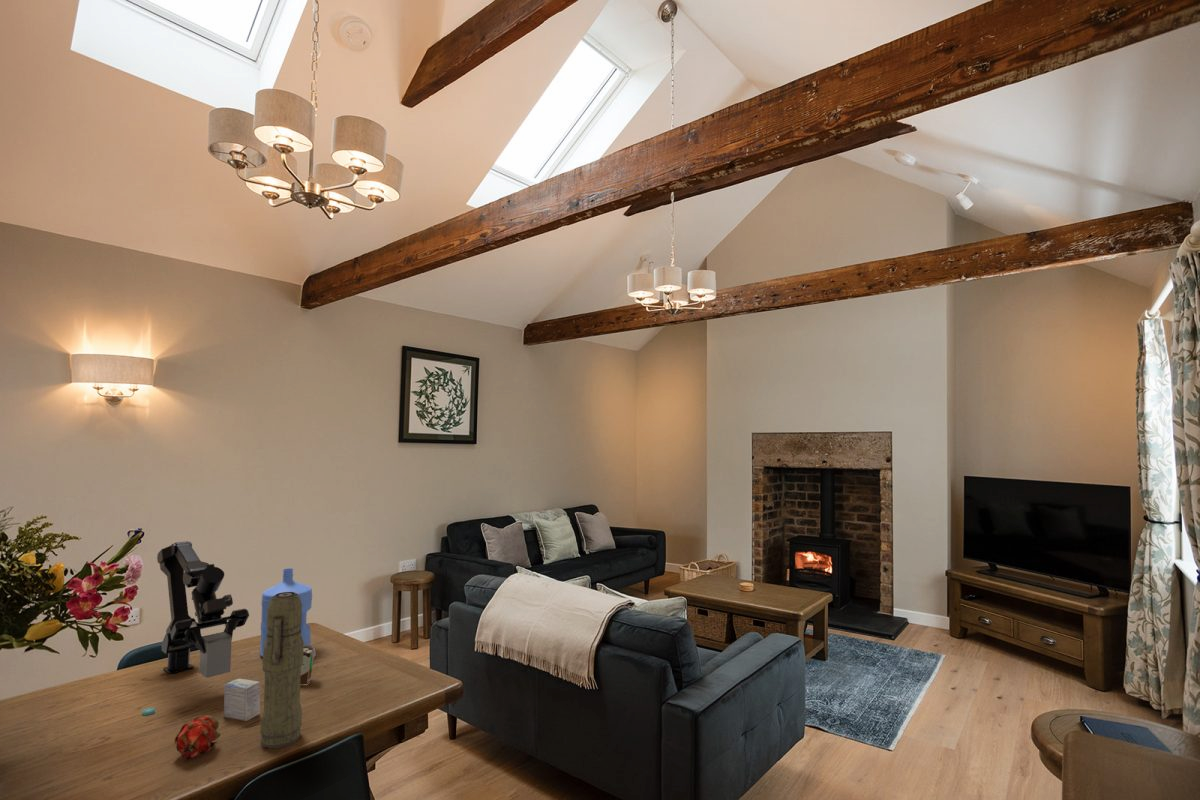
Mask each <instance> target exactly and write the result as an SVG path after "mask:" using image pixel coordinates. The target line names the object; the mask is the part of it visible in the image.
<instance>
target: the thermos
mask: <svg viewBox="0 0 1200 800" xmlns="http://www.w3.org/2000/svg"><path fill="white" fill-rule="evenodd" d="M301 620H302V603H301V600H300V597H299V594H297V593H295V592H282V593H278V594H276V595H274V596H272V598H271V600H270V603H269V605H268V610H267V629H268V633H267V639H266V642H265V644H264V647H263V657H262V670H263V672H264V683H263V684H264V685H263V686H264V689H263V691H264V692H263V713H262V714H261V715H262V716H261V718H260V727H259V728H260V739H261V740H260V746H261V745H262V746H261V747H262V748H265V747H268V748H267V749H278V748H279V749H280V748H283V747H288V746H290V745H292V744H294V743H295V742H297V741H299V740H300V737H301V735H302V734H301V726H302V724H303V723H302V722H303V720H302V719H303V712H302V705H301V703H300V701H301V700H300V699H301V685H300V676H301V666H302V663H303V645H304V642H303V639H302V636H301V629H300V625H301Z"/></svg>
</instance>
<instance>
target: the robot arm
mask: <svg viewBox="0 0 1200 800" xmlns="http://www.w3.org/2000/svg"><path fill="white" fill-rule="evenodd" d="M156 562H157V564H159V567H160V568H159V569H160V570H161V572H162V573H163V574H164V575H165V576H166V579H167V587H168V588H167V589H168V597H169V609H170V611H169V612H170V619H171V620H170V622H169V625H168V626H167V628H166V630H165V635H164V638H163V639H162V642H161V643H160V645H161V652H163V653H164V654H165V655H168V656H167V666H164V667H162V669H163V671H165V672H167V673H169V674H170V675H171V674H175V673H178V672H182V671H187V670H190V669H194V668H195V666H194V665H193V664H191V663H190V658H191V657H190V655H191V649H192V648H196V649H198V650H199V652H200V651H201V652H202V653H203V654H204V653H205V652H206V650H205V645H204V642H203V639H202V633H201V630H203V629H208V628H212V627H217V626H222V625H224V630H223V632H226V633H227V634H229V635H230V636H232V637H233V634H234V631H235V630H236V629H237V628H241V627H242V626H244V625H246V623H247V621H248V619H249V617H250V614H249V610H248V609H247V608H241V609H235V610H232V611H231V612H230V615H229V616H225V617H222V616H223V615H224V614H225V610H227V607H231V606H232V605H233V602H234V600H233V597H232V594H226V595H225V594H224V595H223V596H222V597H220V598H217V594H216V592H217V591H218V590H219V589H220V586H221V584H222V582H223V579H224V577H225V572H224V570H223V569H221V568H220V567H217V566H215V564H214V563H211V564H209V563H208V562H205V561H202V560H201V559H200V558H199V555H198V554H197V553H196V551H195V549H194V548H193V543H192V541H179V542H178V541H177V542H174V543H171V545H169V546H166V547H164V548H162V549H160V550H159V552H158V553H157V557H156ZM186 588H189V589H190V588H193V589H192V591H191V600H192V601H193V605H194V610H195V612H194V616H195V617H196V619H197V621H196V619H195V618H194V617H191V616H190V614H189V610H188V609H189V608H188V607H189V606H188V600H187V599H188V598H187V590H186ZM232 640H233V639H232ZM232 640H231V643H232V642H233V641H232Z"/></svg>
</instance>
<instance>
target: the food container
mask: <svg viewBox="0 0 1200 800" xmlns="http://www.w3.org/2000/svg"><path fill="white" fill-rule="evenodd" d="M316 655H317V653H316V649H315V647H314V645H312V644H311V645H308V644H304V645H303V663H302V666H301V676H300V684H308V683H309V682H310V683H311V679H312V673H313V671H312V670H313V665H314V664H313V662H314V658H315V657H316ZM310 683H309V684H310ZM309 684H308V685H309Z"/></svg>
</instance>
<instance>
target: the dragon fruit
mask: <svg viewBox="0 0 1200 800" xmlns="http://www.w3.org/2000/svg"><path fill="white" fill-rule="evenodd" d="M219 724H220V723H219V721H218V720H217V719H215V718H214V717H212V716H211V715H209V714H208V715H207V714H206V715H202V716H201V717H199V716H196V717H195V716H194V717H193V718H192V720H191V722H190V723H184V724H183V725H182V726H181V727H180V728H179V731H178V733H177V734H176V736H175V738H174V745H175V747H176V751H177V752H179V754H181V755H182V756H183V759H184V760H185V761H189V760H190V759H193V758H194V757H195V758H197V757H199V756H200V755H201V752H202V753H204V754H207V753H208V752H209V751H210V750H211V749H213V748H214V747H215V745H217V743H218V741H216V740H218V739H219V738H220V737H221V733H220V732H219V731H217V730H218V729H219Z"/></svg>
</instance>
